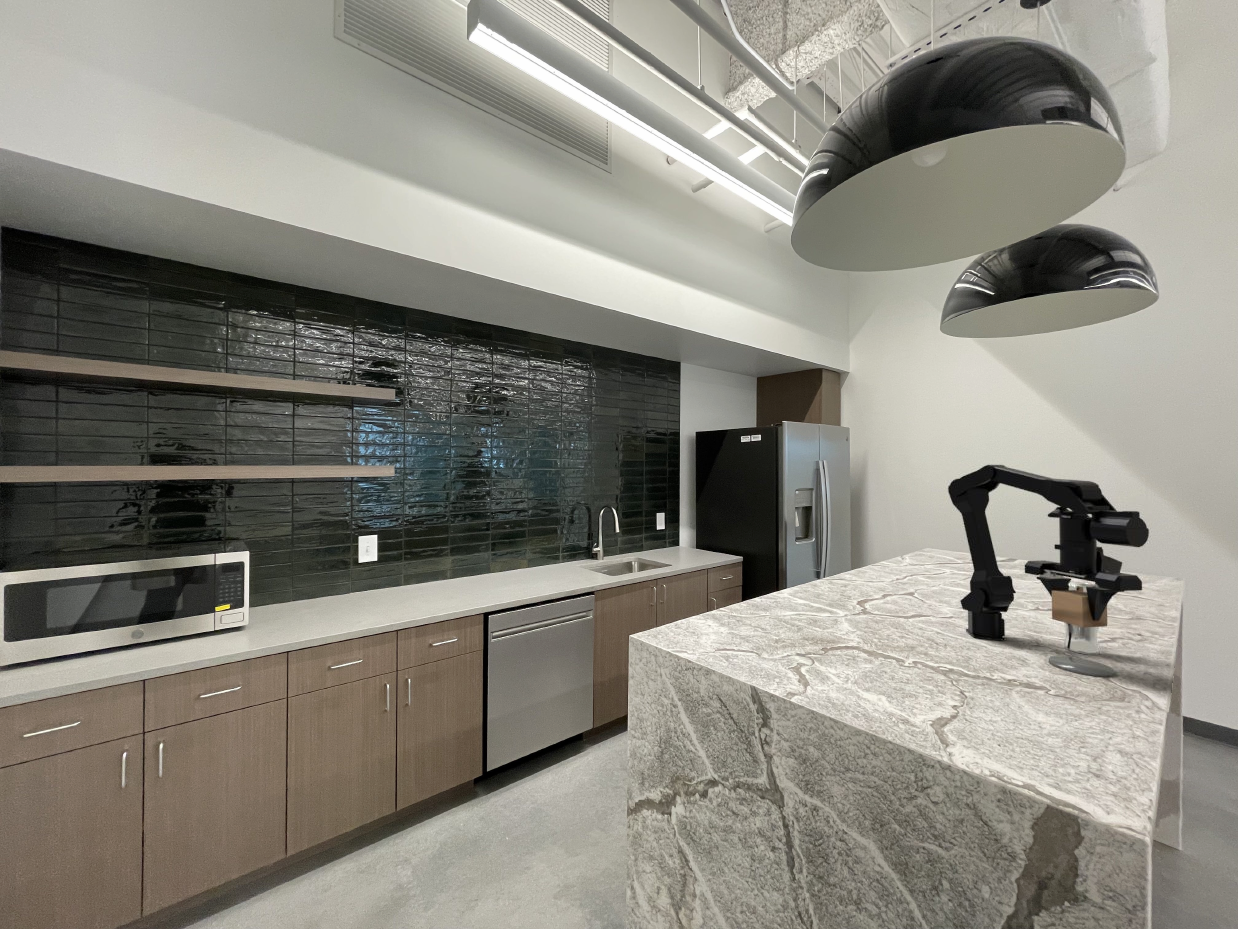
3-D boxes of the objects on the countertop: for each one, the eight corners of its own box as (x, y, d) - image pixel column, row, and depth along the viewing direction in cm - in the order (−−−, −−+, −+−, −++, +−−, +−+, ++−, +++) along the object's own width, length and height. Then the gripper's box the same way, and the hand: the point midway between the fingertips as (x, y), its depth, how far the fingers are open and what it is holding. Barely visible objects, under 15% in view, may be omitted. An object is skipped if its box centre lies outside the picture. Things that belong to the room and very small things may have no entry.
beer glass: (1098, 658, 108) (1097, 588, 109) (1057, 649, 114) (1055, 583, 114) (1106, 652, 112) (1104, 585, 113) (1065, 643, 118) (1064, 580, 118)
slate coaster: (1063, 672, 100) (1063, 669, 100) (1039, 656, 109) (1039, 653, 109) (1127, 679, 96) (1126, 676, 96) (1096, 662, 106) (1096, 659, 106)
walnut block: (1082, 627, 100) (1082, 597, 100) (1052, 619, 106) (1051, 590, 106) (1107, 626, 101) (1106, 596, 101) (1075, 618, 107) (1075, 590, 107)
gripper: (1164, 546, 96) (1166, 628, 95) (1063, 535, 114) (1064, 604, 114) (1117, 547, 94) (1118, 630, 93) (1022, 535, 112) (1023, 605, 112)
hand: (1079, 616), depth 103 cm, fingers closed on walnut block, 6 cm apart
